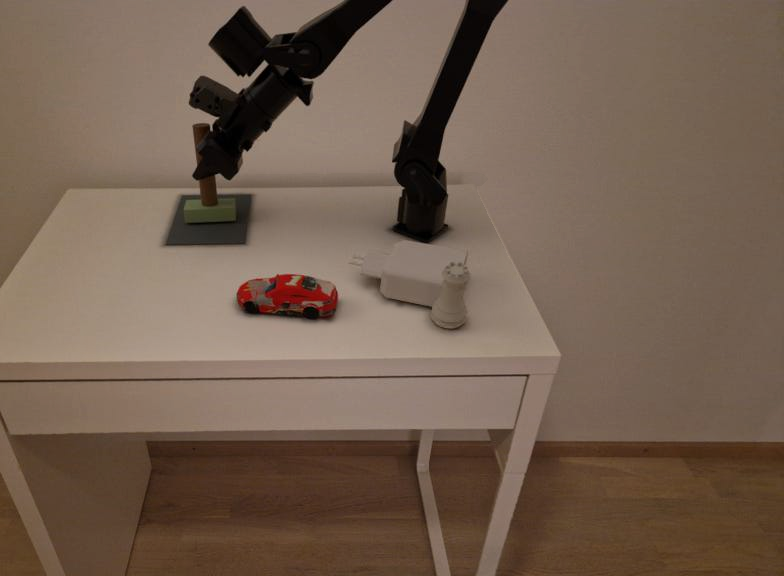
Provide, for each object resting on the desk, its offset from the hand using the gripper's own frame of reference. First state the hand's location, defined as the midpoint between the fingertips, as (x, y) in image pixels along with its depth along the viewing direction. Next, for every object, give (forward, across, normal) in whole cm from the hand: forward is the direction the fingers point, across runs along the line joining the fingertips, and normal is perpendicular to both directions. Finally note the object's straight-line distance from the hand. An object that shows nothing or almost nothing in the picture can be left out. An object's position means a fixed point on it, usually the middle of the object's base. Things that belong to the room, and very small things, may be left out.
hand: (196, 174), depth 92 cm
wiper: (+4, +1, +6) cm, 7 cm away
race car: (-7, +24, +17) cm, 30 cm away
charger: (-18, +17, +28) cm, 37 cm away
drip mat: (+4, 0, +6) cm, 7 cm away
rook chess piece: (-22, +25, +32) cm, 46 cm away
